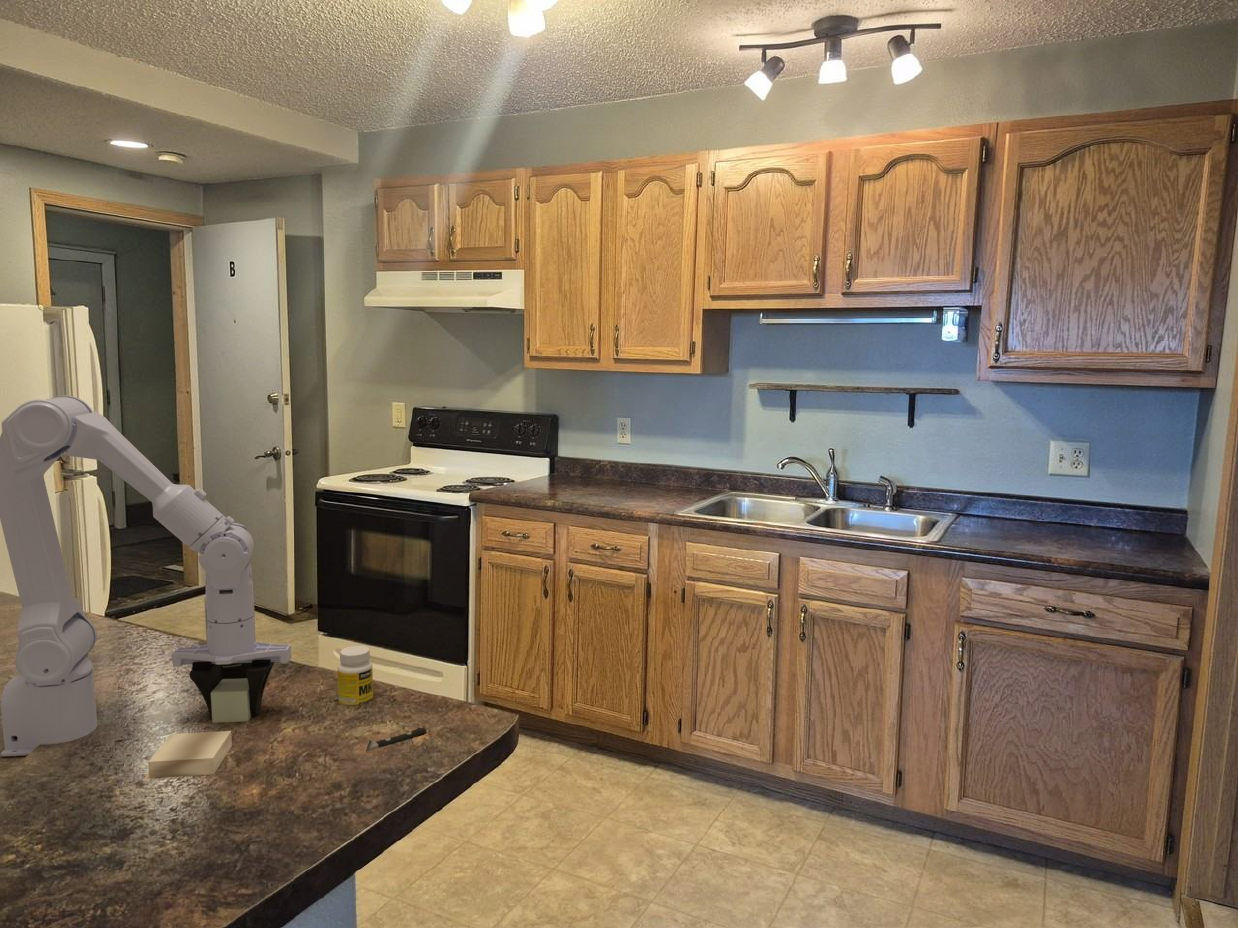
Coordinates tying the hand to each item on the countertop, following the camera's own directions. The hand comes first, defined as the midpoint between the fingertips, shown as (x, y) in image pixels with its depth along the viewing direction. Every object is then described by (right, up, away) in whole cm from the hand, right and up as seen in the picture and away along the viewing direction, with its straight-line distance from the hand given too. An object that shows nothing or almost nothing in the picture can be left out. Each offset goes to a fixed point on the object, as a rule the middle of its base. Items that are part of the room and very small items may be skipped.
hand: (235, 713), depth 112 cm
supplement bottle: (+14, -1, +6) cm, 16 cm away
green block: (0, -1, 0) cm, 1 cm away
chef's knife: (+18, -3, -6) cm, 19 cm away
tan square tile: (+1, -2, -13) cm, 13 cm away
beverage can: (-6, 0, +11) cm, 13 cm away
